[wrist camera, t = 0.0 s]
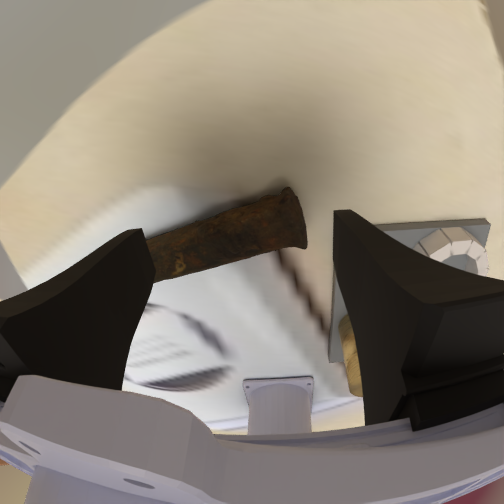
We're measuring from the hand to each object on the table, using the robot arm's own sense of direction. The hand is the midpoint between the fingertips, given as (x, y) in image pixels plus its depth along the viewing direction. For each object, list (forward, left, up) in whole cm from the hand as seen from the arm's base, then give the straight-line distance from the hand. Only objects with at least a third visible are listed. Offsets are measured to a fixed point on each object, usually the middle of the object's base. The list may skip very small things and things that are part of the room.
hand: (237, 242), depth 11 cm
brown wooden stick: (-6, +6, -11) cm, 14 cm away
